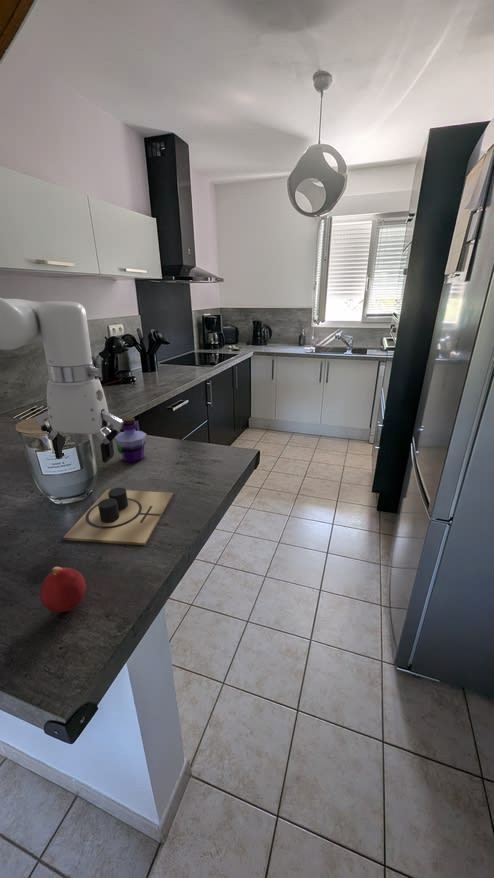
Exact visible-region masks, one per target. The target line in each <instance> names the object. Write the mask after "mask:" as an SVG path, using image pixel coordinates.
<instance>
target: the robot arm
mask: <svg viewBox="0 0 494 878" xmlns="http://www.w3.org/2000/svg"><path fill="white" fill-rule="evenodd" d="M87 316H88V315H87V311H86V308H85V306H83V305H82V304H81V303H80V302H77V301H65V300H64V301H63V300H61V301H60V300H51V301H50V300H49V301H43V302H42V301H34V300H28V299H22V298H3V297H0V350H2V351H12V350H15V349H19V348H21V347H23V346H26V345H29V344H33V343H37V342H39V343H40V342H42V344H43V349H44V355H45V362H46V367H47V372H48V379H49V380H48V381H47V382H46V407H47V410H46V411H44V412H42V413H40V414H38V415H36V416H35V417H34V420H35V422H36V423H37V424H38V426H39V427H40V429H41V431H42V432H43V431H47V432H49V434H48V435H47V439H48V440H49V441H51V443H52V448H53V452H54V451H55V453H54V456H55V459H56V460H60V459H62V458H63V457H65V456H66V455H64V453H62V448H63V446H64V444H65V441H66V442H67V438H66V436H65V437H63V436H62V435H63V434H62V435H60V434H59V432H63V433H66V434H78V435H79V434H81V435H95V436H96V437H97V438H98V439H99V440H100V441H101V443H100V446H99V447H100V452H101V461H102V463H108V462H109V461H110V460H112V458H113V457H114V455H115V448H114V441H113V440H115V439H114V438H115V437H116V436H117V435H118V434H119V433H121V430H122V429H121V428H122V426H123V423H124V422H123V420H122V419H121V418H119V417H117V416H116V415H114V414H112V413H110V412H109V407H108V403H107V399H106V395H105V391H104V387H103V386H102V384H101V380H100V379H97V378H96V377H99V376H100V375H101V369H100V368H97V367H95V364H94V363H93V362H94V361H93V354H92V347H91V339H90V332H89V323H88V317H87ZM110 425H112V429H110V428H109V426H110ZM65 438H66V439H65Z"/></svg>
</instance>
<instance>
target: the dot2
mask: <svg viewBox="0 0 494 878" xmlns="http://www.w3.org/2000/svg"><path fill="white" fill-rule="evenodd" d="M126 490H127V489H126V488H124V487H114V488H112V490H110V491H109V493H108V495H109V498H113V499H116V500H117V504H118V510H123V509H125V508H126V507H127V506H128V500H127V493H126Z"/></svg>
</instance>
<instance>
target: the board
mask: <svg viewBox="0 0 494 878" xmlns="http://www.w3.org/2000/svg"><path fill="white" fill-rule="evenodd" d="M112 489H113V488H112ZM112 489H110V488H108V489H106V490H105V491H103V493H102V494H101V495H100V496H99V498H97V499H96V501H95V502H94V503H93V504H92V505H91V506H90V507H89V508H88V509H87V510H86V512H84V514H83V515H81V517H80V518H79V519H78V520H77V521H76V523H74V525H73V526H72V527H71V528H70V529H69V530H68V531H67V532H66V533H65V534H64V536H63V537H62V539H63V541H73V542H74V541H75V542H89V543H104V544H117V545H131V546H146V545H147V542H148V540H149V539H150V537H151V535H152V534H153V532H154V530H155V528H156V527H157V525H158V523H159V522H160V519H161V518H162V516H163V514H164V512H165V511H166V509H167V507H168V505H169V503H170V502H171V500H172V498H173V496H174V492H167V491H166V492H165V491H150V490H149V491H147V490H129V489H128V490H127V489H126V493H127V500H128V506H127V507H126V508H125V509H123V510H119V518H118V519H117V520H116V521H114V522H111V523H103V522H102V521H101V518H100V513H99V507H98V504H99V502H100V501H102V500H104V499H108V498H109V495H108V493H109V491H110V490H112Z"/></svg>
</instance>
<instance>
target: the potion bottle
mask: <svg viewBox="0 0 494 878" xmlns="http://www.w3.org/2000/svg"><path fill="white" fill-rule="evenodd" d="M121 420H123V422H124V423H123V426H122V428H121V430H122V431H123V432H120V433H119V434H118V435H117V436H116V437H115V438H114V439H113V440H114V441H115V444H116V450H117V451H118V454H120V455H121V456H122V459H123V461H124V462H125V463H129V464H130V463H131V464H135V463H138V462H140V461H142V460H144V457H145V456H144V453H145V445H146V442H147V435H148V434H147V433H146V432H144V431H143V430H136V429H137V428H139V426H138V422H137V421H136V420H135V417H129V416H128V417H123V418H122V419H121Z"/></svg>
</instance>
